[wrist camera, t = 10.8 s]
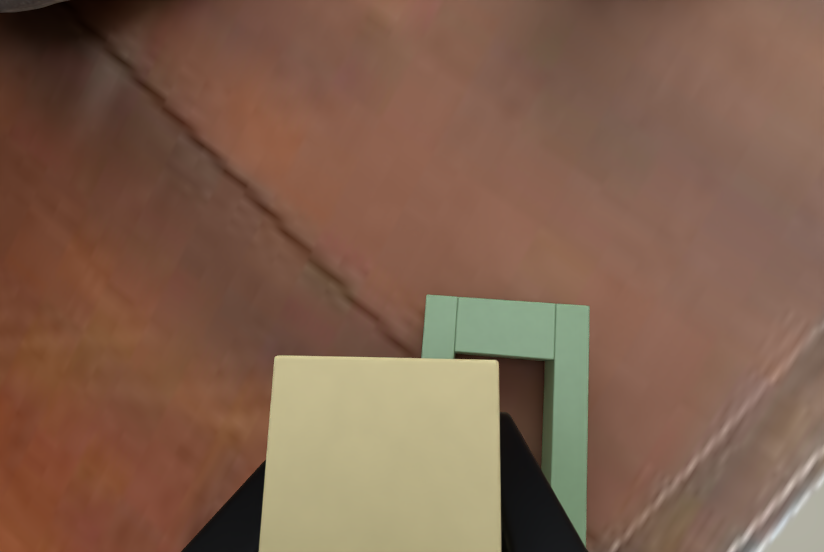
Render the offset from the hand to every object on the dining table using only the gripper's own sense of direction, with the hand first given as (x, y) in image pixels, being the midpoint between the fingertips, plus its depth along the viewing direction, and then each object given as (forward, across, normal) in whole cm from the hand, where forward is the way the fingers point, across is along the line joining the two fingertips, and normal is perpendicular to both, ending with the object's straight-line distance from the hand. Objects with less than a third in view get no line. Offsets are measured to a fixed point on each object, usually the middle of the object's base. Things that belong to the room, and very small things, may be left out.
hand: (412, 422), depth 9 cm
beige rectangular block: (+4, 0, +6) cm, 7 cm away
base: (+9, -2, +10) cm, 14 cm away
